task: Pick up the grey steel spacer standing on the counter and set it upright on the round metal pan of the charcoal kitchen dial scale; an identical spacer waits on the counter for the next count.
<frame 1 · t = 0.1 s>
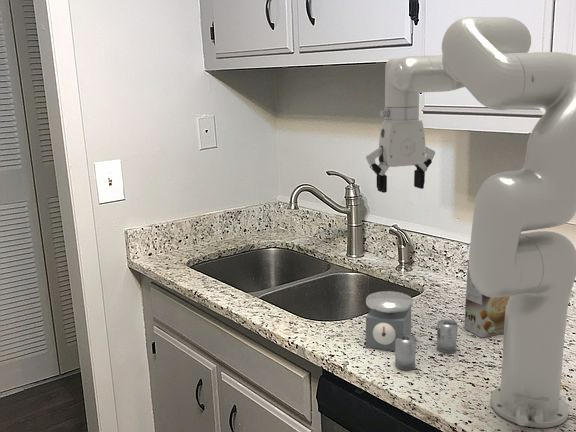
hand: (400, 189, 139), 31 cm above the worktop, tool pointing down, fingers open, 9 cm apart
printed food package: (488, 330, 136), on the worktop
spacer 1: (405, 366, 121), on the worktop
pan: (389, 304, 131), point 8 cm above the worktop, slide at -0.5 cm
spacer 2: (446, 349, 127), on the worktop
scale: (388, 340, 133), on the worktop
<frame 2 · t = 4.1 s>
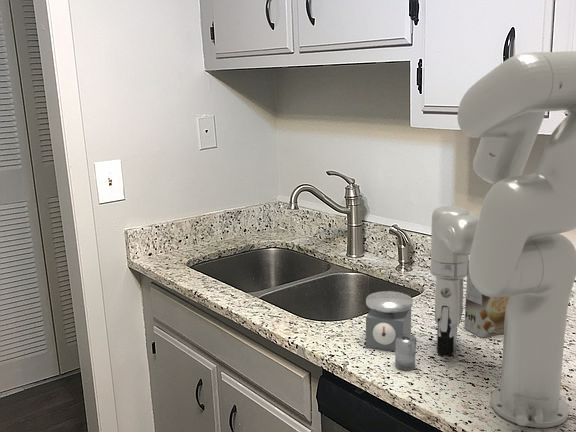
hand: (446, 348, 127), 0 cm above the worktop, tool pointing down, fingers closed on spacer 2, 4 cm apart
spacer 2: (446, 349, 127), on the worktop, touching gripper
everything else where it was.
when the fingers open (11 cm above the worktop, at t = 8.4 s): spacer 2 drops 1 cm, resting on pan.
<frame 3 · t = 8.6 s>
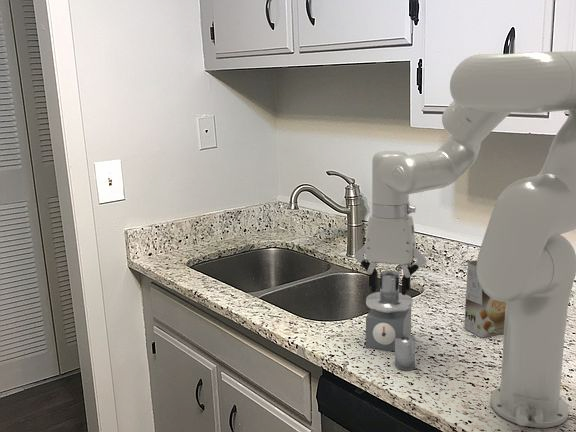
hand: (389, 290, 130), 12 cm above the worktop, tool pointing down, fingers open, 6 cm apart
pan: (389, 304, 131), point 8 cm above the worktop, slide at -0.6 cm, touching spacer 2
spacer 2: (389, 299, 130), point 10 cm above the worktop, touching pan
everything else where it was.
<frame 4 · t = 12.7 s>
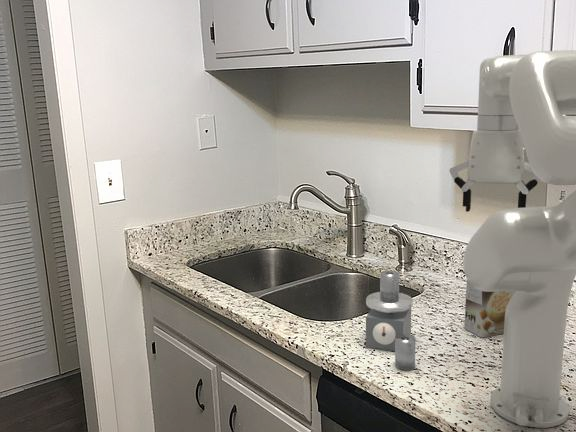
hand: (493, 211, 118), 30 cm above the worktop, tool pointing down, fingers open, 9 cm apart
nothing on the worktop moved.
at the end: spacer 2 inside the target area on the pan (0.1 cm from its centre), point 2.5 cm above the pan's base; spacer 2 tilted 0°; spacer 1 moved 0.0 cm from its start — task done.
